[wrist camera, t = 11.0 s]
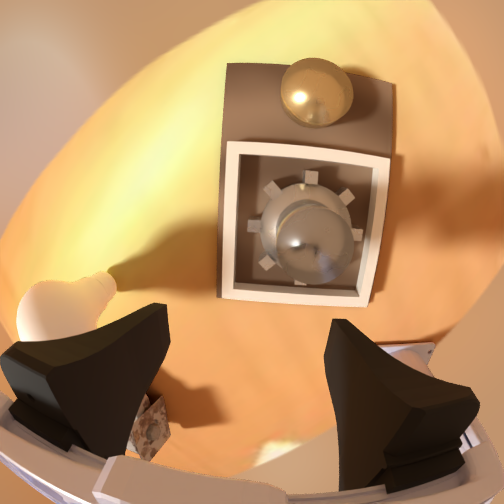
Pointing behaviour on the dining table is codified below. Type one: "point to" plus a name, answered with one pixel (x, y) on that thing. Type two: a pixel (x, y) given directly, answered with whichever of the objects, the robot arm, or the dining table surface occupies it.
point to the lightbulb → (64, 307)
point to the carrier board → (297, 161)
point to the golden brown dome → (315, 93)
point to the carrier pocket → (299, 293)
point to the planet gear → (306, 230)
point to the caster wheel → (149, 429)
